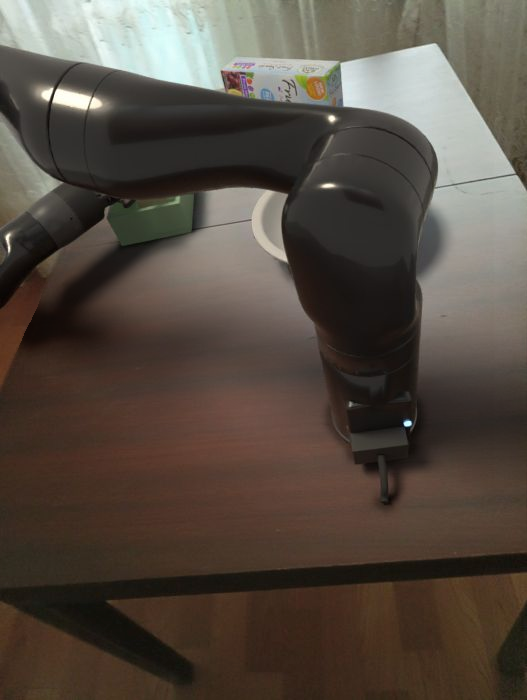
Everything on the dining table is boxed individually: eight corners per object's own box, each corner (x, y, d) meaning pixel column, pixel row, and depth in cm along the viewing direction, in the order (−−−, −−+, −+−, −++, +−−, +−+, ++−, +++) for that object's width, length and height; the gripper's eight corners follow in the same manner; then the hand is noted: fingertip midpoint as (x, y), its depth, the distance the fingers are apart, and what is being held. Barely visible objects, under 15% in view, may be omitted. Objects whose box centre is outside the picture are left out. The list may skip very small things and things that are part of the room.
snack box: (349, 146, 90) (342, 58, 78) (334, 164, 88) (325, 76, 76) (253, 133, 100) (234, 54, 88) (238, 149, 98) (216, 69, 86)
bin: (191, 232, 84) (179, 202, 80) (121, 246, 86) (106, 218, 82) (194, 189, 92) (184, 160, 88) (131, 202, 94) (117, 174, 89)
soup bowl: (420, 302, 65) (422, 265, 60) (245, 301, 72) (234, 267, 67) (422, 189, 79) (424, 151, 73) (276, 197, 85) (268, 163, 80)
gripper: (77, 207, 69) (166, 144, 75) (29, 181, 77) (113, 125, 83) (102, 248, 75) (182, 186, 81) (55, 220, 83) (131, 165, 89)
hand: (147, 156), depth 82 cm, fingers closed on canister, 5 cm apart
